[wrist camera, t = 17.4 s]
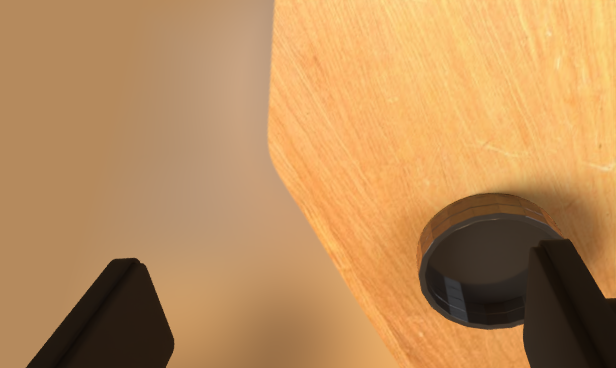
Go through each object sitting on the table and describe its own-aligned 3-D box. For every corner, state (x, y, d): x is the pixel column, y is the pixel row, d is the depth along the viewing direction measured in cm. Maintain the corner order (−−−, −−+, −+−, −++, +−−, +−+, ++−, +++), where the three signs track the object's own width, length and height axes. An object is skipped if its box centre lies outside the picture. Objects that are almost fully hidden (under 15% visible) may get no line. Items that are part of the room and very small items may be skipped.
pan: (393, 275, 49) (394, 298, 46) (460, 171, 42) (466, 190, 39) (509, 321, 50) (517, 347, 47) (591, 226, 43) (607, 249, 40)
